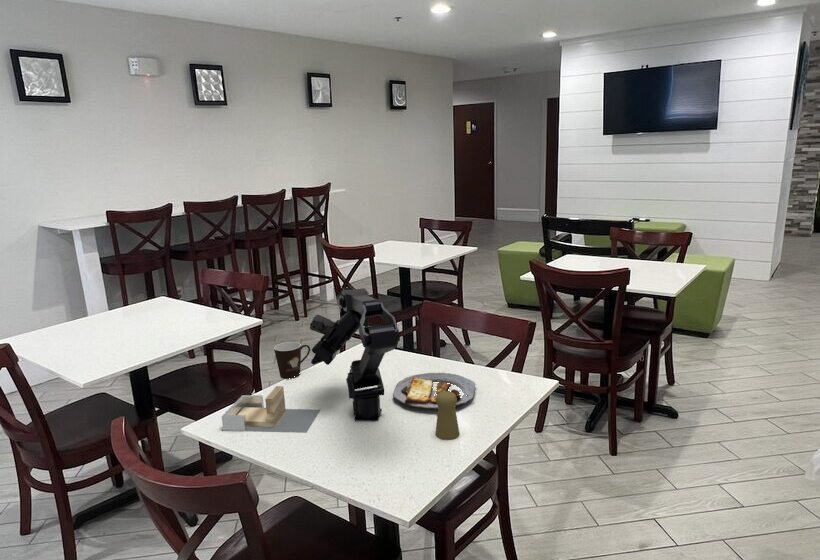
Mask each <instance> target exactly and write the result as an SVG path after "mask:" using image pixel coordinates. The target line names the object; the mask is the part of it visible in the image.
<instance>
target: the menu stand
mask: <svg viewBox="0 0 820 560" xmlns="http://www.w3.org/2000/svg"><path fill="white" fill-rule="evenodd" d="M285 398H286V397H285V391H284V385H276V386H274V388H273V389H272V391H270V393H268V395H267V396H266V397H265V398H264V401H265V402H264V403H265V407H264V408H252V407H244V408H243V409H242V410H241V411H240V412H239V414H238V415H245V418H246V426H249V427H276V426H277V425H278V423H279V422H280V421H281V419H282V418H283V417H284V415H285V414H286V409H287V407H286V401H285V400H286V399H285Z"/></svg>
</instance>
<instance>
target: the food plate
mask: <svg viewBox="0 0 820 560" xmlns="http://www.w3.org/2000/svg"><path fill="white" fill-rule="evenodd" d="M432 382H439V383H436V388H437V389H436V390H437V391H435V392H436V394H437V395H438V394H439V393H440V392H444V391H448V389H449V390H451V392H452V393H454V394H455V395H456V397H457V403H456V405H455V407H458V406H461V405H464V404H467V403H468V402H470V401H471V400H473V398H474V395H475V390H476V385H477V384H476V382H475V381H473V380H472V379H469V378H466V377H464V376H462V375H460V374H455V373H450V372H427V373H425V372H424V373H418V374H413V375H410V376H406V377H404V378H403V379H401V380H399V381H398V382H397V383H396V385H395V387H394V389H393V391H392V397H393V398H394V399H395V401H398V403H399V402H400V404H403V405H405V406H408V407H412V408H421V409H422V408H423V409H432V410H435V409H436V410H438V405H437V403H436V397H437V395H436V394H435V392H434V390H433V389H434V383H432ZM447 383H450V384H447ZM451 384H453V385H456V386H457V387H459V388H460V389H461V390H462V392H463V393H464V395H463V396H462V398H460V395H459V394H460V393H459V392H460V391H461V390H458V389H455V388H452V389H450V388H451V387H452V386H453V385H451ZM456 386H455V387H456ZM432 387H433V388H432ZM449 387H450V388H449ZM449 392H450V391H449ZM463 393H462V394H463ZM434 394H435V396H434ZM466 395H467V396H466Z"/></svg>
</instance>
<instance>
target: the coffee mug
mask: <svg viewBox="0 0 820 560" xmlns="http://www.w3.org/2000/svg"><path fill="white" fill-rule="evenodd" d="M303 348H307V349H308V350H307V353H306V355H305V356H304V357H303V358H302V357H301V356H302V349H303ZM273 350H274V354H275V359H276V362H277V363H276V364H277V368H278V372H279V377H280V378H281V379H283V380H292V378H293V379H296V378H299V377H300V376H301V364H302V363H303V362H304V361H305V360H306V358H308V356H309V354H310V352H311V347H310V345H307V344H303V345H302V344H301V342H298V341H286V342H281V343H278V344H276V345H275V346H274V347H273ZM301 358H302V359H301ZM299 373H300V374H299ZM299 375H300V376H299ZM294 376H295V377H294ZM289 378H290V379H289Z"/></svg>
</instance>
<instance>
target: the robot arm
mask: <svg viewBox="0 0 820 560" xmlns="http://www.w3.org/2000/svg"><path fill="white" fill-rule="evenodd" d="M335 300H336V301H335V302H336V306H338V310H339V311H340V315H341V317H340V318H339V319H337V320H336V321H333V320H331V319H330V318H327V317H325V316H322V315H320V314H316V315H315V316H314V317H313V318H312V320H311V323H309V329H310V330H311V331H313V332H317V333H319V334H321V335H323V336H322V337H320V340H318V341H317V342H316V344H315V345H314V346H313V347H312V348H310V351H312V353H313V354H314V356H313V357H312V359H311V361H310V363H311V364H312V365H313V366H314V365H316V364H319V363H322V362H324V363H323V364H326V365H327V366H328V365H330V364H331V363H332V362H333V361H334V360H335V358H336V357H337V353H338V351H340V350H341V349H342V348H343V346H344V345H345V344H346V343H348V341H350V339H352V337H353V336H354V334H356V333H357V332H358V333H359V337H360V340H361V344H362V346H363V348H364V350H363V353H362V356H361V359H356V360H353V361H351V363H350V364H351V365H350V366H349V372H348V373H347V377H346V384H347V391H348V398H349V399H352V407H353V409H352V410H353V416H354V421H357V422H360V421H361V422H378V421H379V419H380V416H381V414H382V412H383V411H382V408H381V400H380V396H385V386H384V382H383V380H382V375H381V371H380V369H379V368H380V365H381V362H382V361H383V358H384V356H385V354H386V353H389V352H391V351H394V350H395V349H396V348H397V346H398V344H399V342H400V341H401V340H400V339H401V335H400V331H399V326H398V324H397V322H396V321H397V320H396V318H395V316H394V315H393V314H392V313H390V311H388V310H387V309H386V308H385V306H384V304H383V300H381V299H378V298H374V297H373V296H372V297H371V296H370V293H369V292H368V290H367V289H366V288H365V287H364V288H356V289H351V287H349V286H348V287H343V288H342V291H340V292H339V293H338V294H337V295H336V299H335ZM378 316H379V317H380V319H381V320H383V322H384V323H381V324H374V325H369V319H370V318H371V317H378ZM364 388H365V389H364Z"/></svg>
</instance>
